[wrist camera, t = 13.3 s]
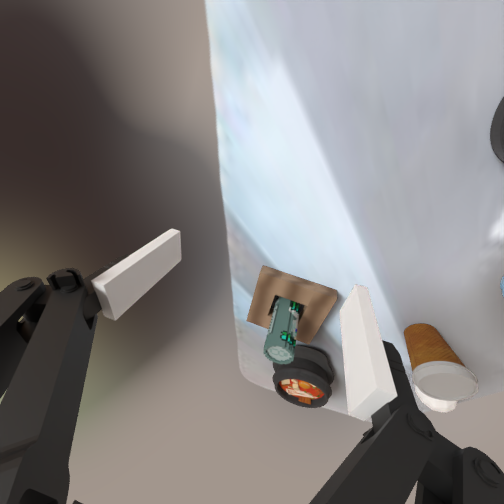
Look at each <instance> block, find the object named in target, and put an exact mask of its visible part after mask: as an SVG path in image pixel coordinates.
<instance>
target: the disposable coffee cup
mask: <svg viewBox="0 0 504 504" xmlns="http://www.w3.org/2000/svg"><path fill="white" fill-rule="evenodd" d="M404 336H405V340H406V345H407V349H408V354H409V358H410V362H411V367H412V371H413V373H412V380H413V382H414V384H415V385H416V386H417V387H418V388H419V390H420V391H421V392H422V393H423V394H425V395H427V396H429V397H431V398H434V399H438V400H445V401H460V400H465V399H468V398H471V397H473V396H474V395H475V394H477V392H478V385H477V383H478V380H477V377H476V376H475V375H474V374H473V373H472V372H471V371H470V370H469V369H467V368H466V367H465V366H464V364H463V363H462V362H461V360H460V359H459V358H458V357H457V355H456V354H455V353H454V351H453V350H452V349H451V348H450V346H449V345H448V344H447V343H446V341H445V340H444V339H443V337H442V336H441V335H440V334H439V332H438V331H437V330H436V328H434V327H433V326H431V325H428V324H414V325H411V326H409V327H407V328H406V329H405V331H404Z"/></svg>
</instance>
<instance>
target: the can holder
mask: <svg viewBox="0 0 504 504" xmlns="http://www.w3.org/2000/svg"><path fill="white" fill-rule="evenodd" d="M275 295H278V296H280V297H283V298H286V299H289V300H292V301H294V302H297V303H300V304H303V305H304V307H303V309H302V311H301V313H300V315H299V319H298V327H297V335H296V340H298V341H301V342H304V343H306V344H310V342H311V341H312V339H313V337H314V336H315V334H316V333H317V331H318V329H319V328H320V326H321V325H322V323H323V321H324V320H325V318H326V316H327V315H328V313H329V312H330V310H331V308H332V307H333V305H334V303H335V302H336V300H337V290H335V289H332V288H329V287H326V286H323V285H320V284H317V283H314V282H311V281H308V280H305V279H302V278H299V277H296V276H293V275H290V274H287V273H284V272H282V271H279V270H276V269H273V268H270V267H267V266H264V265H263V267H262V269H261V271H260V274H259V278H258V281H257V285H256V289H255V292H254V296H253V299H252V303H251V306H250V310H249V313H248V317H247V321H248V322H251V323H254V324H256V325H259V326H261V327H264V328H267V329H269V326H270V322H271V319H272V315H273V311H274V309H273V308H271V305H272V302H273V299H274V297H275Z"/></svg>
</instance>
